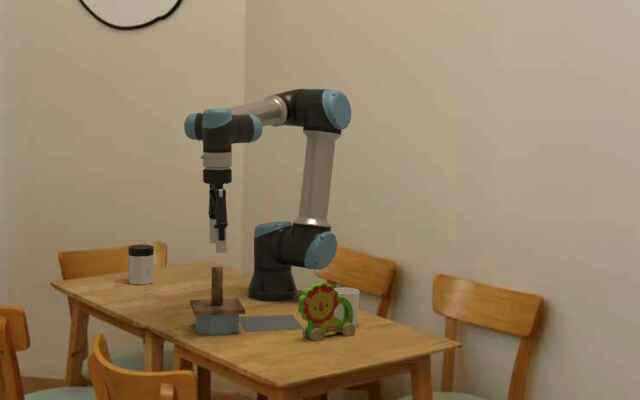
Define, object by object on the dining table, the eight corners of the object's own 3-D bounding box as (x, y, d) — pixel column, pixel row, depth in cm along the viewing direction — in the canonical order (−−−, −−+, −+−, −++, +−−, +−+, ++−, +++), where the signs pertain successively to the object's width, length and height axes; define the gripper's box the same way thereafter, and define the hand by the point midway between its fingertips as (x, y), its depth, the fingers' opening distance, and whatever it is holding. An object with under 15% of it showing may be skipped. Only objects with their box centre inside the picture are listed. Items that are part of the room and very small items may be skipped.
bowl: (234, 324, 262) (234, 303, 261) (240, 335, 252) (240, 313, 251) (194, 326, 260) (194, 305, 259) (198, 337, 249) (198, 315, 248)
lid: (237, 302, 263) (238, 262, 261) (245, 314, 250) (245, 272, 249) (190, 304, 260) (190, 263, 258) (195, 316, 247) (195, 273, 246)
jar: (136, 286, 307) (136, 250, 306) (122, 282, 313) (122, 246, 312) (159, 282, 314) (159, 246, 312) (145, 278, 319) (145, 243, 318)
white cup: (338, 331, 257) (339, 295, 256) (325, 324, 264) (325, 289, 263) (364, 328, 261) (364, 292, 260) (350, 321, 268) (350, 286, 267)
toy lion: (345, 332, 257) (346, 276, 255) (356, 337, 252) (357, 280, 250) (294, 340, 248) (294, 282, 246) (305, 345, 244) (305, 286, 242)
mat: (292, 316, 272) (292, 314, 272) (304, 330, 257) (304, 329, 257) (236, 318, 269) (236, 317, 269) (245, 333, 253) (245, 331, 253)
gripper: (198, 163, 261) (198, 239, 264) (208, 173, 237) (209, 257, 240) (225, 163, 263) (225, 238, 266) (238, 172, 239) (238, 256, 242)
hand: (217, 247), depth 253 cm, fingers open, 13 cm apart
